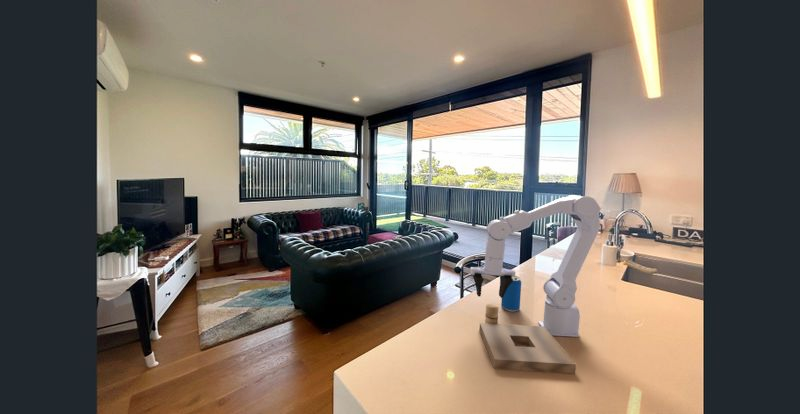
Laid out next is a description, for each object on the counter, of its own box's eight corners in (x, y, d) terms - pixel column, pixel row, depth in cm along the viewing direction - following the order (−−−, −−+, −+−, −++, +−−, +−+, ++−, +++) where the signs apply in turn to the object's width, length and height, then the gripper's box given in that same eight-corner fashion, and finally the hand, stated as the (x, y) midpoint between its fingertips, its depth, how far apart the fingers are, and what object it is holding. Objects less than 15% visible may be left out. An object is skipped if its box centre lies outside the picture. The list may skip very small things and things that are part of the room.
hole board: (543, 333, 88) (544, 326, 88) (575, 373, 70) (576, 364, 70) (479, 330, 89) (479, 322, 89) (494, 368, 72) (494, 359, 71)
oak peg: (495, 320, 96) (496, 303, 95) (499, 326, 92) (500, 309, 91) (483, 319, 96) (484, 303, 96) (486, 326, 92) (487, 308, 92)
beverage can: (521, 313, 101) (523, 281, 100) (502, 311, 103) (504, 279, 101) (517, 305, 108) (519, 275, 107) (499, 303, 109) (501, 273, 108)
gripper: (510, 254, 96) (506, 292, 97) (469, 251, 95) (465, 289, 97) (520, 260, 89) (515, 301, 90) (475, 257, 88) (470, 298, 90)
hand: (489, 296), depth 93 cm, fingers open, 7 cm apart
